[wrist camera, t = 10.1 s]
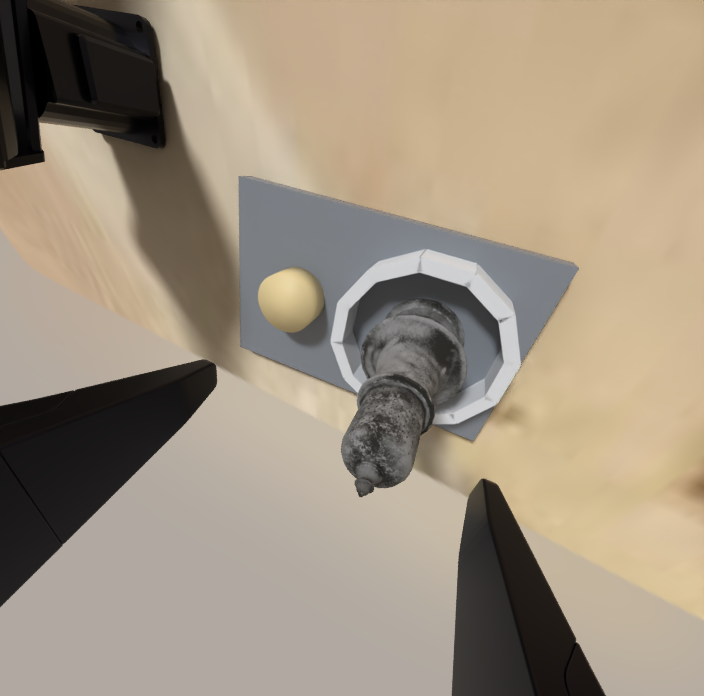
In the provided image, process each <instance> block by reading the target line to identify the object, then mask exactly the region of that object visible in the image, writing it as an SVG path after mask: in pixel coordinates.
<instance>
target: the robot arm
mask: <svg viewBox="0 0 704 696" xmlns="http://www.w3.org/2000/svg"><path fill="white" fill-rule="evenodd" d="M142 26H143V30H142ZM39 122H41V123H48V124H56V125H64V126H72V127H80V128H88V129H93V130H94V131H95V132H97V133H101V134H105V135H109V136H112V137H116V138H120V139H124V140H127V141H131V142H135V143H139V144H142V145H146V146H150V147H154V148H164V147H165V134H164V125H163V117H162V109H161V100H160V92H159V83H158V75H157V67H156V58H155V50H154V42H153V33H152V28H151V25H150V23H149V21H148V20H147V19H145V18H143V17H141V16H139V15H135V14H129V13H122V12H116V11H109V10H103V9H97V8H90V7H84V6H77V5H71V4H69V3H67V2H64V1H62V0H0V170H4V169H10V168H15V167H20V166H25V165H30V164H35V163H41V162H45V157H44V151H43V150H42V147H41V137H40V127H39ZM157 140H158V142H157ZM216 384H217V370H216V365H215V364H214V363H212V362H210V361H208V360H199V361H194V362H191V363H186V364H182V365H178V366H173V367H169V368H165V369H161V370H156V371H152V372H149V373H144V374H140V375H135V376H131V377H127V378H123V379H119V380H114V381H110V382H106V383H103V384H98V385H93V386H89V387H85V388H81V389H77V390H75V391H68V392H64V393H60V394H56V395H51V396H47V397H42V398H38V399H33V400H29V401H23V402H18V403H13V404H8V405H3V406H0V607H1V606H2V605H3V604H4V603H5V602H6V601H7V600H8V599H9V598H10V597H11V596H12V595H13V594H14V593H15V592H16V591H17V590H18V589H19V588H20V587H21V586H22V585H23V584H24V583H25V582H26V581H27V580H28V579H29V578H30V577H31V576H32V575H33V574H34V573H35V572H36V571H37V570H38V569H39V568H40V567H41V566H42V565H43V564H44V563H45V562H46V561H47V560H48V559H49V558H50V557H51V556H52V555H53V554H54V553H55V552H57V551H58V549H60V548H61V547H62V545H63V544H64V543H65V542H66V541H67V540H68V539H69V538H70V537H71V536H72V535H73V534H74V533H75V532H76V531H77V530H78V529H79V528H80V527H81V526H82V525H83V524H84V523H86V522H87V520H89V519H90V518H91V517H92V515H94V514H95V513H96V512H97V511H98V510H99V509H100V508H101V507H102V506H103V505H104V504H105V503H106V502H107V501H108V500H109V499H110V498H111V496H113V495H114V494H115V493H116V492H117V491H118V490H119V489H120V488H121V487H122V486H123V485H124V484H125V483H126V482H127V481H128V480H129V479H130V478H131V477H132V476H133V475H134V474H135V473H136V472H137V471H138V470H139V469H140V468H141V467H142V466H143V465H144V464H145V463H146V462H147V461H148V460H149V459H150V458H151V457H152V456H153V455H154V454H155V453H156V452H157V451H158V450H159V449H160V448H161V447H162V446H163V445H164V444H165V443H166V442H167V441H168V440H169V439H170V438H171V437H172V436H173V435H174V434H175V433H176V432H177V431H178V430H179V429H180V428H181V427H182V426H183V425H184V424H185V423H186V422H187V421H188V420H189V418H191V416H192V415H193V414H194V413H195V412H196V410H197V409H198V408H199V407H200V405H201V404H202V403H203V401H205V399H206V398H207V397H208V396H209V394H210V393H211V392H212V391H213V390H214V388H215V387H216ZM453 662H454V663H453V681H452V696H606V695H605V693H604V691H603V689H602V688H601V685H600V684H599V682H598V680H597V678H596V676H595V674H594V672H593V670H592V669H591V667H590V665H589V663H588V661H587V659H586V657H585V655H584V653H583V651H582V649H581V647H580V645H579V644H578V643H577V642H576V637H575V635H574V633H573V631H572V630H571V627H570V626H569V624H568V622H567V620H566V618H565V616H564V614H563V612H562V610H561V608H560V606H559V604H558V602H557V600H556V598H555V596H554V594H553V592H552V590H551V588H550V586H549V584H548V582H547V581H546V578H545V576H544V574H543V573H542V570H541V569H540V567H539V565H538V563H537V561H536V559H535V557H534V555H533V553H532V551H531V549H530V547H529V545H528V543H527V541H526V539H525V537H524V535H523V533H522V531H521V529H520V527H519V525H518V523H517V521H516V519H515V517H514V515H513V513H512V511H511V510H510V508H509V506H508V504H507V502H506V500H505V498H504V496H503V494H502V492H501V490H500V488H499V486H498V485H497V484H496V483H494V482H491V481H489V480H487V479H481V480H480V481H479V482H478V484H477V485H476V487H475V488H474V489H473V491H472V492H471V494H470V495H469V498H468V502H467V508H466V514H465V520H464V526H463V532H462V538H461V544H460V552H459V561H458V579H457V600H456V620H455V641H454V661H453Z"/></svg>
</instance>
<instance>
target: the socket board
mask: <svg viewBox="0 0 704 696" xmlns="http://www.w3.org/2000/svg"><path fill="white" fill-rule="evenodd" d="M239 254H240V347H242V348H245V349H247V350H250V351H252V352H255V353H257V354H260V355H262V356H265V357H267V358H270V359H272V360H274V361H277V362H279V363H282V364H284V365H287V366H289V367H292V368H294V369H297V370H299V371H302V372H304V373H306V374H309V375H311V376H314V377H316V378H319V379H321V380H324V381H326V382H329V383H331V384H334V385H336V386H338V387H341V388H343V389H346V390H348V391H351V392H353V393H356V394H358V391H359V389H360V387H361V386H362V384H363V383H364V382H365V381H366V380H367V378H366V376H365V373H364V371H363V369H362V364H361V358H360V356H361V348H362V344H363V342H364V340H365V338H366V335H367V334H368V333H369V332H370V331H371V330H372V329H373V327H374V326H375V325H377V324H379V323H380V322H382V321H384V320H385V318H386V316H387V314H388V313H389V312H390V311H391V310H392V309H393V308H394V307H395V306H397V305H398V304H400V303H402V302H404V301H407V300H411V299H421V298H425V299H430V300H434V301H437V302H439V303H441V304H443V305H445V306H447V307H448V308H449V309H451V310H452V311H453V312H454V313H455V314H456V316H457V317H458V319H459V320H460V322H461V323H462V327H463V330H464V346H463V349H464V352H465V355H466V359H467V375H466V378H465V381H464V384H463V386H462V387H461V389H460V390H459V391H458V392H457V394H456V395H455V396H453V397H452V398H451V399H449V400H448V401H446V402H445V403H442V404H439V405H436V406H434V409H435V417H434V420H433V423H432V425H435V426H437V427H439V428H442V429H444V430H447V431H449V432H452V433H454V434H457V435H459V436H462V437H464V438H467V439H469V440H471V441H474V439H475V438H476V436H477V434H478V433H479V431H480V430H481V428H482V426H483V425H484V423H485V421H486V420H487V418H488V416H489V415H490V413H491V412H492V410H493V408H494V407H495V405H496V403H497V404H498V402H499V400H500V399H501V397H502V395H503V394H504V392H505V391H506V389H507V387H508V386H509V384H510V382H511V381H512V379H513V377H514V376H515V374H516V373H517V371H518V369H519V368H520V366H521V365H520V364H521V363H522V361H523V359H524V358H525V356H526V354H527V353H528V351H529V349H530V348H531V346H532V345H533V343H534V341H535V340H536V338H537V336H538V335H539V333H540V331H541V330H542V328H543V327H544V325H545V323H546V322H547V320H548V318H549V317H550V315H551V313H552V312H553V310H554V309H555V307H556V305H557V304H558V302H559V300H560V299H561V297H562V295H563V294H564V292H565V291H566V289H567V287H568V286H569V284H570V282H571V281H572V279H573V277H574V276H575V274H576V273H577V271H578V269H579V268H578V267H577V266H576V265H575V264H574V263H572V262H568V261H565V260H561V259H557V258H554V257H550V256H546V255H542V254H539V253H535V252H531V251H527V250H524V249H520V248H516V247H513V246H509V245H505V244H501V243H498V242H494V241H490V240H487V239H483V238H479V237H475V236H472V235H468V234H464V233H460V232H457V231H453V230H449V229H446V228H442V227H438V226H434V225H431V224H427V223H423V222H419V221H416V220H412V219H408V218H405V217H401V216H397V215H393V214H390V213H386V212H382V211H378V210H375V209H371V208H367V207H364V206H360V205H356V204H352V203H349V202H345V201H341V200H337V199H334V198H330V197H326V196H323V195H319V194H315V193H311V192H308V191H304V190H300V189H296V188H293V187H289V186H285V185H282V184H278V183H274V182H270V181H267V180H263V179H259V178H255V177H252V176H239Z"/></svg>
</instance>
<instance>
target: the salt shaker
mask: <svg viewBox="0 0 704 696" xmlns="http://www.w3.org/2000/svg"><path fill="white" fill-rule="evenodd" d="M463 346H464V330H463V327H462V323H461V322H460V320H459V319H458V317H457V316H456V314H455V313H454V312H453V311H452V310H451V309H449V308H448V307H447V306H445V305H443V304H441V303H439V302H437V301H434V300H430V299H425V298H421V299H411V300H407V301H404V302H402V303H400V304H398V305H397V306H395V307H394V308H393V309H392V310H391V311H390V312H389V313H388V314H387V316H386V318H385V320H384V321H382V322H380V323H379V324H377V325H375V326H374V327H373V329H372V330H371V331H370V332H369V333H368V334H367V335H366V338H365V340H364V342H363V344H362V348H361V356H360V358H361V364H362V369H363V371H364V373H365V376H366V378H367V380H366V381H365V382H364V383H363V384H362V386H361V387H360V389H359V391H358V395H357V405H358V411H357V413H356V415H355V417H354V418H353V420H352V422H351V424H350V426H349V428H348V430H347V432H346V433H345V435H344V437H343V441H342V446H341V453H342V458H343V461H344V464H345V466H346V467H347V469H348V470H349V472H350V473H351V474H352V475H353V476H354V477H355V478H357V480H356V481H355V486H356V488H357V492H358V495H359V497H363V496H365V495H367V494H368V493H372V492H373V490H374V487H377V488H389V487H393V486H395V485H397V484H399V483H401V482H402V481H404V480H405V479H406V478H407V477H408V475H409V474H410V472H411V470H412V467H413V464H414V460H415V456H416V452H417V448H418V444H419V440H420V435H422V434H423V433H425V432H426V431H427V430H428V429H429V428H430V427H431V425H432V423H433V420H434V417H435V409H434V406H436V405H439V404H442V403H445V402H446V401H448V400H449V399H451V398H452V397H453V396H455V395H456V394H457V392H458V391H459V390H460V389H461V387H462V386H463V384H464V381H465V378H466V375H467V359H466V355H465V352H464V349H463Z"/></svg>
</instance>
